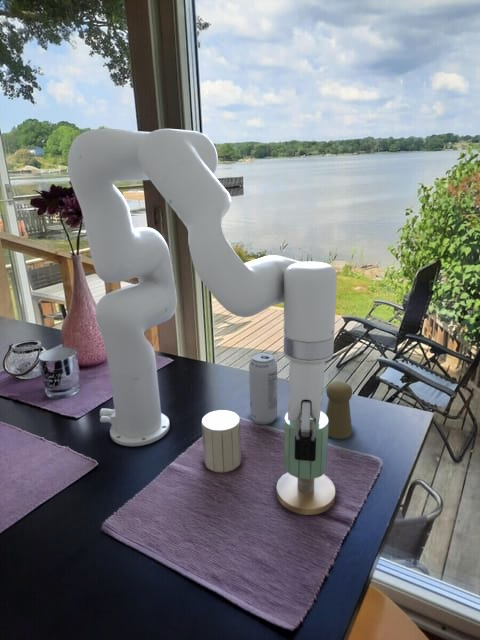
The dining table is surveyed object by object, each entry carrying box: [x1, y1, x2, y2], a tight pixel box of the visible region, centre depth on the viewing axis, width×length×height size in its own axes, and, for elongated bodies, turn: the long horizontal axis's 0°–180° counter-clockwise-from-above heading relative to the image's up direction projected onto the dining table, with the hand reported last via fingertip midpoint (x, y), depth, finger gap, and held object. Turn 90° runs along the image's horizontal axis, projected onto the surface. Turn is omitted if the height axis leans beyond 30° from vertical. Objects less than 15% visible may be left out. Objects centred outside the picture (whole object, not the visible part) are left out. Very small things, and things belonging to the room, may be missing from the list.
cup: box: [201, 409, 242, 473], centre depth 83 cm, size 7×7×9 cm
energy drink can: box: [248, 351, 278, 425], centre depth 96 cm, size 6×6×15 cm
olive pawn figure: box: [325, 380, 353, 440], centre depth 91 cm, size 6×6×11 cm
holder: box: [275, 471, 337, 516], centre depth 73 cm, size 10×10×14 cm
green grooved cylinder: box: [283, 411, 329, 480], centre depth 72 cm, size 7×7×9 cm
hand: (305, 444), depth 72 cm, fingers closed on green grooved cylinder, 7 cm apart
